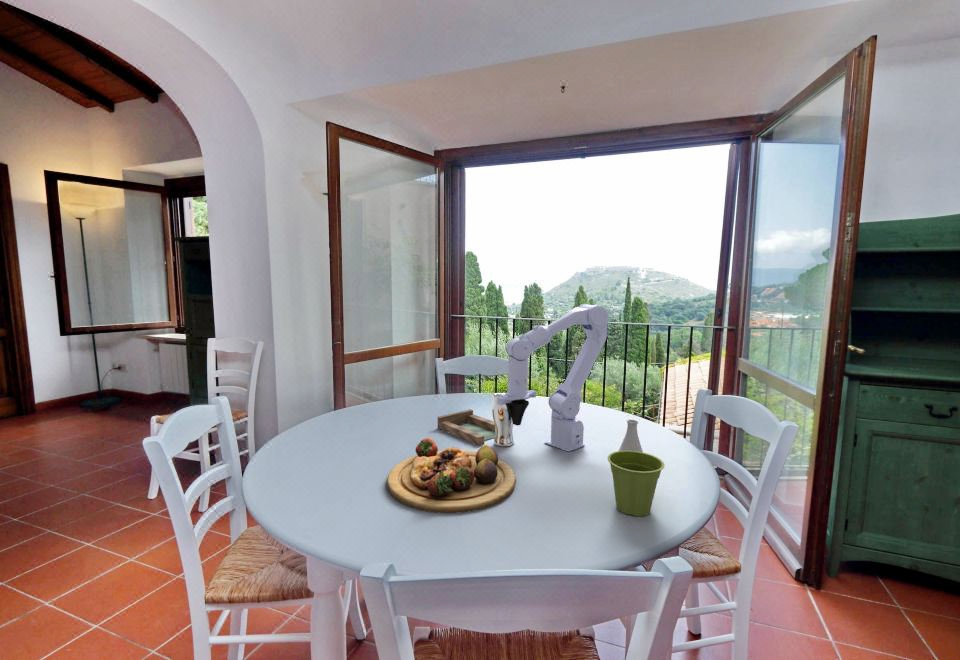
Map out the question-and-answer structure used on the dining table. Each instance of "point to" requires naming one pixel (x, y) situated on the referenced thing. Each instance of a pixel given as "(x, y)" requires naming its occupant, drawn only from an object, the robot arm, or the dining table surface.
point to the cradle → (468, 426)
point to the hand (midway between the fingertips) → (516, 424)
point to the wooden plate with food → (451, 479)
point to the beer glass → (502, 423)
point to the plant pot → (634, 480)
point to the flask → (631, 438)
